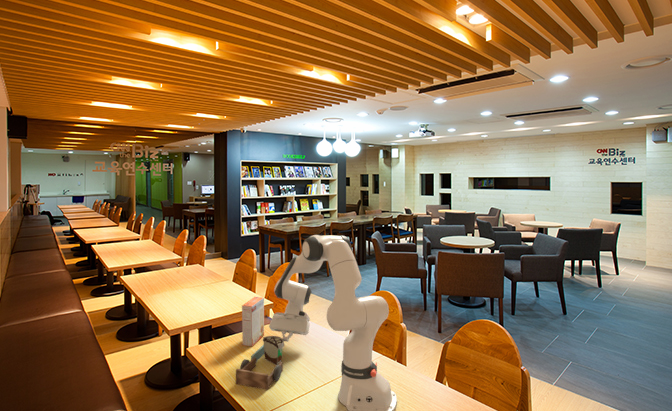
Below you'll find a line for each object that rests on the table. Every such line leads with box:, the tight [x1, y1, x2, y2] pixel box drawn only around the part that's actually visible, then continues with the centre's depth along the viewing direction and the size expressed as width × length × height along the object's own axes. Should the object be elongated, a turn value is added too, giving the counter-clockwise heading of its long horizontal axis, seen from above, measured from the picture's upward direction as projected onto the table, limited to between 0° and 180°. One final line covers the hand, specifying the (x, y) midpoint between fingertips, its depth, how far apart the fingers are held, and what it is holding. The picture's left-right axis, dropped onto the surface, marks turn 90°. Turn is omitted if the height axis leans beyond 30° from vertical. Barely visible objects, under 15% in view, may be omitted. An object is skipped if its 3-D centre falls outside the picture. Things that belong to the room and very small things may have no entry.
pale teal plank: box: [250, 344, 264, 363], centre depth 168 cm, size 14×1×4 cm, turn 164°
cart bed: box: [235, 357, 284, 391], centre depth 152 cm, size 16×15×6 cm
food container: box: [262, 335, 285, 366], centre depth 166 cm, size 12×6×10 cm, turn 47°
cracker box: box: [241, 296, 265, 347], centre depth 186 cm, size 14×6×21 cm, turn 166°
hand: (285, 340), depth 176 cm, fingers closed
